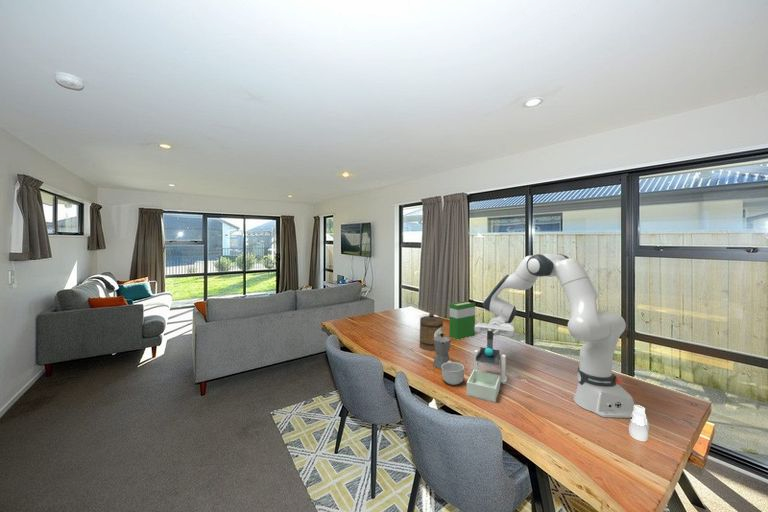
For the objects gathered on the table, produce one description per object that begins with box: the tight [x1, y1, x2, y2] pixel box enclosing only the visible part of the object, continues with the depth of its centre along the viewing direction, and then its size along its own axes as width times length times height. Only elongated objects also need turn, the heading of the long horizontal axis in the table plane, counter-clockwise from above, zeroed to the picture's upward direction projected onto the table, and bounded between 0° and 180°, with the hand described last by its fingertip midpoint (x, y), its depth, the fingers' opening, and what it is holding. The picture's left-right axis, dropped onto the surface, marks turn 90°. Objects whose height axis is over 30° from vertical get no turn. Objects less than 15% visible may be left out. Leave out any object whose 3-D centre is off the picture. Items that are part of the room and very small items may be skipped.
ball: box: [485, 347, 493, 356], centre depth 144 cm, size 4×4×4 cm
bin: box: [466, 369, 501, 403], centre depth 134 cm, size 12×14×6 cm
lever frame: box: [473, 349, 508, 385], centre depth 147 cm, size 16×6×13 cm, turn 61°
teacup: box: [441, 360, 465, 386], centre depth 144 cm, size 14×11×8 cm
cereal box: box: [449, 300, 476, 340], centre depth 209 cm, size 18×7×24 cm, turn 122°
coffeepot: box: [433, 333, 452, 370], centre depth 162 cm, size 15×9×18 cm, turn 175°
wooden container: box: [419, 312, 444, 351], centre depth 190 cm, size 15×15×22 cm
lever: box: [475, 331, 502, 366], centre depth 144 cm, size 10×18×16 cm, turn 151°
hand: (492, 333), depth 151 cm, fingers closed
